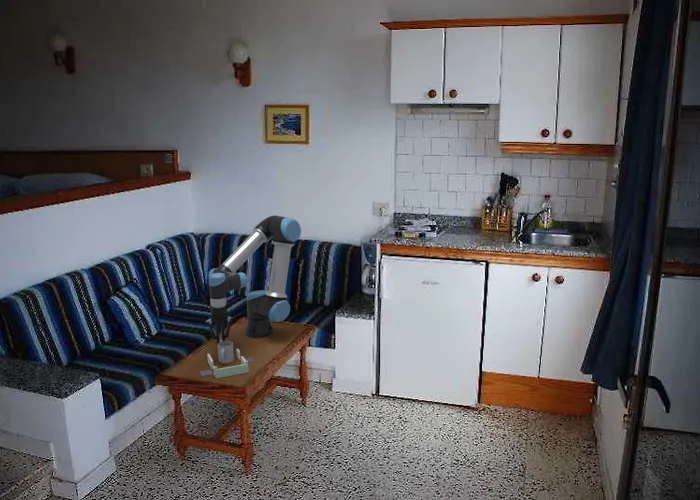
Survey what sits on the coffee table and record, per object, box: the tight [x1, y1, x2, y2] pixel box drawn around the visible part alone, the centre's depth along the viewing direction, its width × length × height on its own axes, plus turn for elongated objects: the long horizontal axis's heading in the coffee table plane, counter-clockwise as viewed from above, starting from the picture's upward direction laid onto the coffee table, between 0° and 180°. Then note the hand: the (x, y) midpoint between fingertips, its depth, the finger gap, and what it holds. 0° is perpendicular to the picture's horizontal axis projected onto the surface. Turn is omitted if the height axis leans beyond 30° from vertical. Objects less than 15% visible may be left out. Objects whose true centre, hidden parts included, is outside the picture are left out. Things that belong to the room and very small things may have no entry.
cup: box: [216, 340, 235, 365], centre depth 281 cm, size 7×10×9 cm
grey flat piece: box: [199, 348, 255, 379], centre depth 276 cm, size 26×20×5 cm
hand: (221, 351), depth 287 cm, fingers closed
